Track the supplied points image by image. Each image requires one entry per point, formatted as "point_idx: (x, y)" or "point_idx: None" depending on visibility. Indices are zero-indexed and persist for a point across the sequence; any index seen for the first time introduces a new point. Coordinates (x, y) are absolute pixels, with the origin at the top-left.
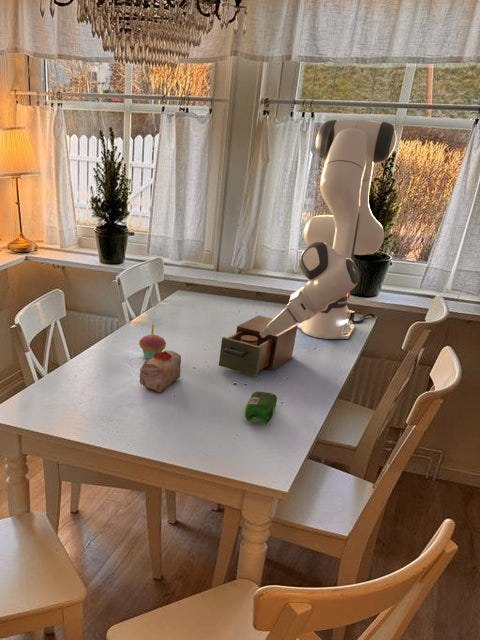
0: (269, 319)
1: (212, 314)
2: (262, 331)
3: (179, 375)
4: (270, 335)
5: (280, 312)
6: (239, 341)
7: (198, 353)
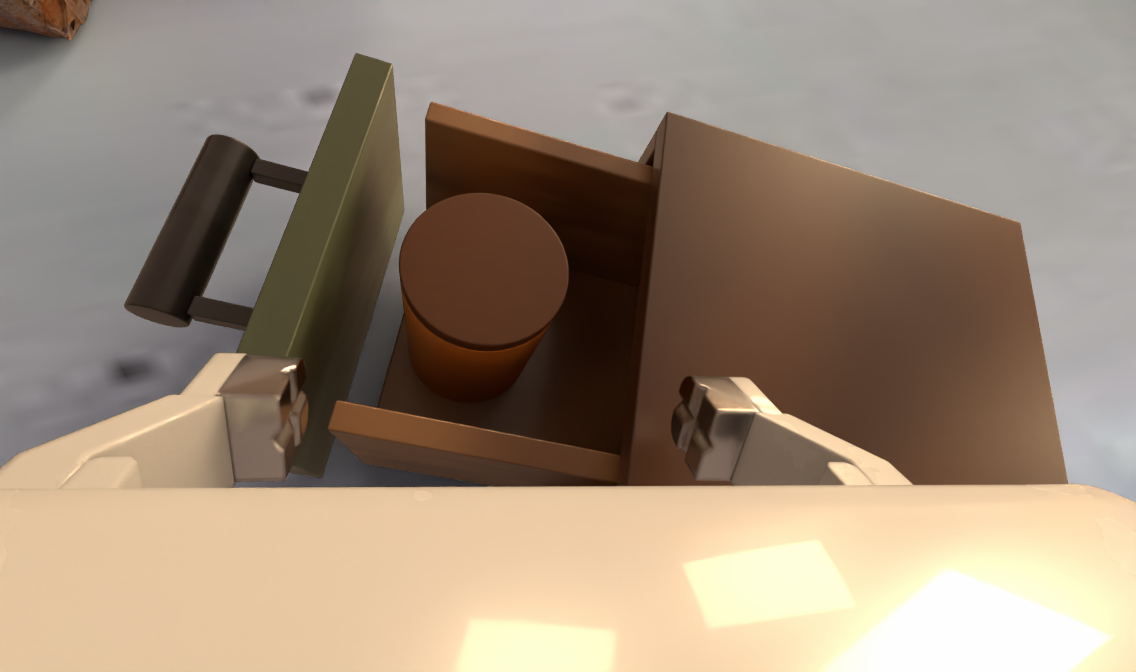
0: (1007, 321)
1: (1045, 68)
2: (198, 381)
3: (11, 19)
4: (627, 444)
5: (788, 522)
6: (325, 199)
7: (556, 84)
